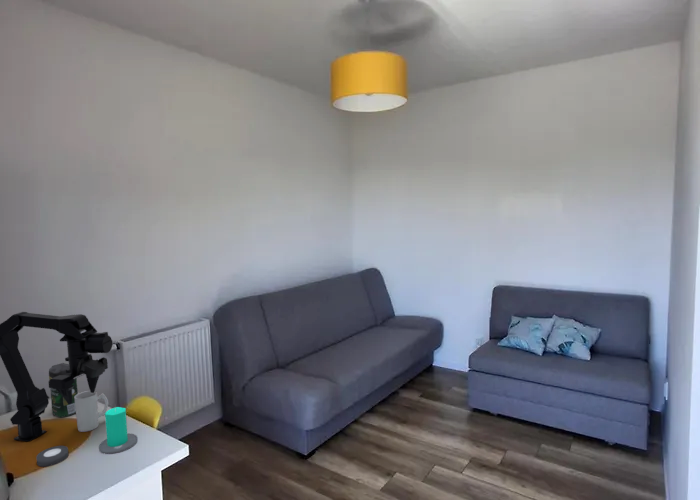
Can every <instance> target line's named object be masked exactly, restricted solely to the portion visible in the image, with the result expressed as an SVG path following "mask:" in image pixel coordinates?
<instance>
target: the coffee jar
mask: <svg viewBox="0 0 700 500" xmlns="http://www.w3.org/2000/svg"><path fill="white" fill-rule="evenodd" d="M68 369H69V363H66V362H62V363H57V364H54V365H52V366H51V367H50V368H49V369H48V379H49V380H50V379H52V378H54V377H56V376H59V375H67V376H68V375H70V373H66V370H68ZM49 380H48V381H49ZM72 385H75V386H74V387H73V388H72V404H71V405H70V404H68V403H67V402H66V400H65V399H64V398H63V396H62V395H61V394H60V393H59V392H58V391H57V390H56V389H53V388H49V389H50V399H51V400H50V401H51V413H52V414H53V415H54V416H56V417H59V418H64V417H69V416H72V415H75V414H76V408H75V398H74V396H75V395H77V394H79V392H78V391H79V390H78V383H77V378H75V379H74V383H73V384H72Z"/></svg>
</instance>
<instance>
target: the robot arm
mask: <svg viewBox="0 0 700 500" xmlns="http://www.w3.org/2000/svg"><path fill="white" fill-rule="evenodd" d="M24 327H29V328H38V329H47V330H53V331H57V333H59V334H62V335H63V337H61V338H60V339H59V342H66V347H67V357H65V358H64V359H65V362H68V364H69V369H68V370H66V373H70V375H68V376H67V375H59V376H56V377H54V378H52V379H50V380H48V388H49V389H50V388H53V389H56V390H57V391H58V392H59V393H60V394H61V395H62V396H63V398H64V399H65V400H66V402H67V403H68V404H70V405H71V404H72V388H73V387H74V386H75V385H72V384H73V383H74V379H75V378H80V377H82V376H84V375H85V377H86V381H87V385H88V390H89V391H91V393H94V391H96V387H97V384H98V381H99V378H100V376H101V375H103V373H105V372H106V370H107V369H108V368H109V366H108V363H109V362H108V359H107V357H101V358H99V359H94V358H93V355H92V354H108V353H110V352H111V350H112V348H113V339H112V337H111V336H110V335H109V332H108V331H103V332H98V331H97V329H96V328H95V327H94V326H93V325H92V323H91V321H89V318H88V317H87V315H85V314H71V315H70V314H68V315H61V316H60V315H52V314H40V313H33V312H27V311H20V312H18V313H14V314H12V315H11V316H10V317H8V318H7V319H6V320H4V321H3V322H1V323H0V358H1V360H2V363H3V365H4V367H5V369H6V371H7V373H8V375H9V378H10V380H11V382H12V384H13V387H14V389H15V391H16V395H17V397H16V403H15V404H16V405H15V406H16V408H17V411H16V412H15V413H14V415H13V416H12V417H10V418H9V419H10V422H11V424H12V425H13V426H17V432H18V433H17V434H18V435H17V436H15V437H14V438H13V440H14V441H21V442H22V441H23V442H32V441H33V440H35V439H37V438H39V437H40V436H41V435H44V434H45V433H47V430H45V429H43V424H42V423H43V422H42V419H41V416H42V415H43V414H45V411H46V409H47V408H48V405H49V404H50V403H49V402H50V401H49V399H50V396H49V395H48V394H47V392H46V389H45V387H43V388H41V389H40V388H39V387H37V386H36V385H35V384H34V382H33V380H32V376H31V374H30V373H29V370H28V368H27V366H26V363H25V361H24V359H23V357H22V355H21V353H20V350H19V340H20V337H19V332H20V331H22V329H23V328H24Z"/></svg>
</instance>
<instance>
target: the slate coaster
mask: <svg viewBox="0 0 700 500" xmlns="http://www.w3.org/2000/svg"><path fill="white" fill-rule="evenodd" d="M127 436H128V441H127V442H126V443H124V444H122V445H120V446H116V447H110V446H107V438H105V439H104V440H102V441H101V442H100V443H99V445H98V450H99V452H100V453H101V454H104V453H105V455H113V454H118V453H121V452H122V453H123V452H125V451H127V450H129V449H131V448H133V447H134V446H135V445H136V444H137V442H138V436H137V435H136V434H134V433H129V432H127Z"/></svg>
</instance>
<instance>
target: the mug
mask: <svg viewBox="0 0 700 500" xmlns="http://www.w3.org/2000/svg"><path fill="white" fill-rule="evenodd" d="M74 398H75V408H76V413H75V415H76V416H75V417H76V425H77V430H78V432H80V433H81V432H82V433H85V432H90V431H92V430H95V429H96V428H98V427H99V418H101V417H105V413H106V412H107V411H108V407H109V400H108V398H107V396H106V395H105V393H104V392H102V393H101V394H99V395H98V392H97V391H96V390H95V391H94V393H91V391H90V390H86V391H82V392H78V394H77V395H75V396H74ZM100 399H101V400H103V401H104V407H103V409H102V410H101V411H99V409H98V408H99V407H98V401H99V400H100Z"/></svg>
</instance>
